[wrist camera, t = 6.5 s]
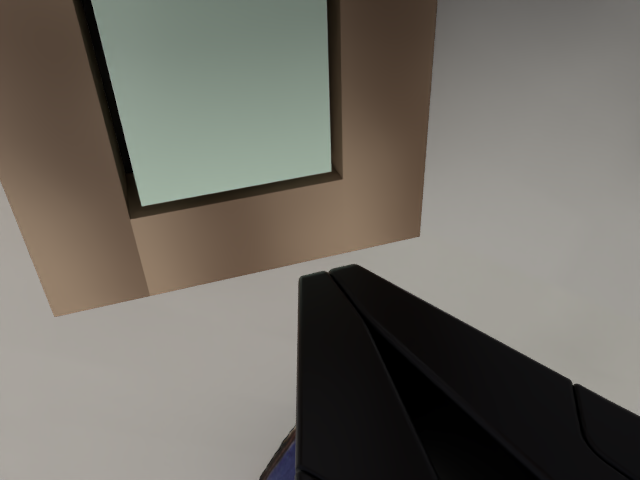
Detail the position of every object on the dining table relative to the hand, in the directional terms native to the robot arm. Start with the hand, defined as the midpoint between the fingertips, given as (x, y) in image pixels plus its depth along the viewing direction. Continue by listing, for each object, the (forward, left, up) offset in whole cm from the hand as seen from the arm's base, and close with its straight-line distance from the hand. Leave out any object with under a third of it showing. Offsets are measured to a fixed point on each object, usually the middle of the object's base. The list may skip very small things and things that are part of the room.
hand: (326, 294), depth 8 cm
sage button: (0, 0, -12) cm, 12 cm away
